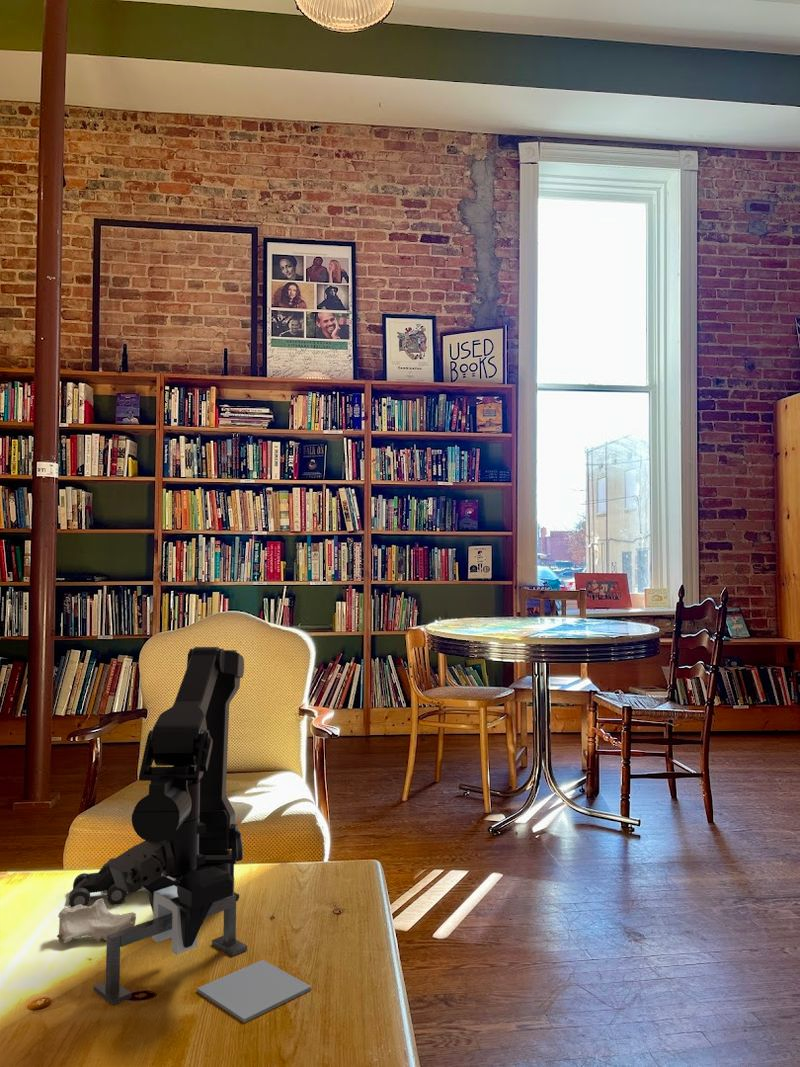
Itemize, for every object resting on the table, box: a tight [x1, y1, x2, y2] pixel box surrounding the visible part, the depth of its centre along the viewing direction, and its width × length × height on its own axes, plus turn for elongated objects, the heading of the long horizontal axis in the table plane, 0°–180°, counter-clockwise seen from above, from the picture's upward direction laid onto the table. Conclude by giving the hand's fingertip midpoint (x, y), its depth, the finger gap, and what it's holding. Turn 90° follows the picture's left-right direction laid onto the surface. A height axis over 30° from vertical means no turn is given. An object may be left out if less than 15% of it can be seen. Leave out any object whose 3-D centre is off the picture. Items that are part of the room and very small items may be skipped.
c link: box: [152, 885, 199, 956], centre depth 101 cm, size 3×6×6 cm, turn 47°
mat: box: [196, 959, 312, 1024], centre depth 95 cm, size 10×10×1 cm
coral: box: [56, 898, 137, 944], centre depth 110 cm, size 6×10×4 cm, turn 112°
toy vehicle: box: [67, 857, 128, 908], centre depth 125 cm, size 8×15×9 cm, turn 108°
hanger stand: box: [93, 894, 248, 1006], centre depth 101 cm, size 19×5×7 cm, turn 137°
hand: (174, 938), depth 101 cm, fingers closed on c link, 6 cm apart
